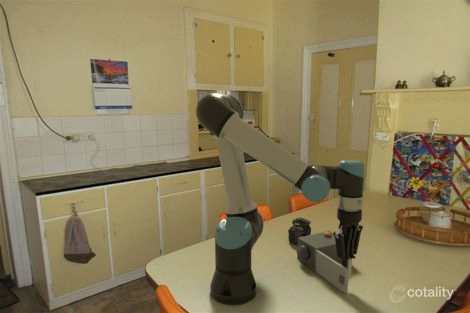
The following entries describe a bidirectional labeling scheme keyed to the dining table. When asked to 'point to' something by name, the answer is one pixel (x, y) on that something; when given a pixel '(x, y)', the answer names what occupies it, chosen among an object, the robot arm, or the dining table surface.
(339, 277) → the door
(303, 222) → the camera
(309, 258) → the case
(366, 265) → the dining table surface
